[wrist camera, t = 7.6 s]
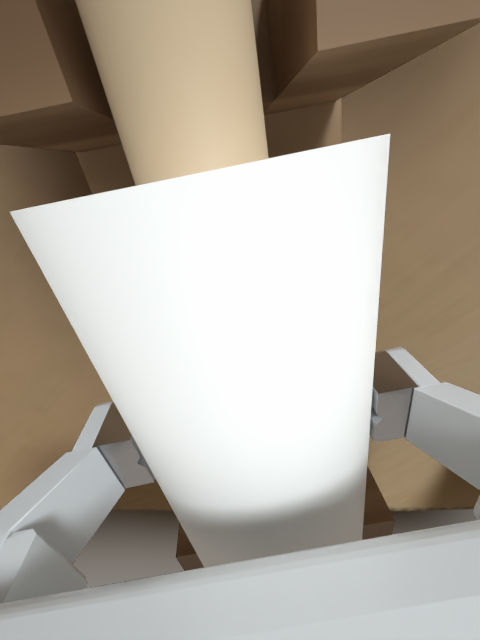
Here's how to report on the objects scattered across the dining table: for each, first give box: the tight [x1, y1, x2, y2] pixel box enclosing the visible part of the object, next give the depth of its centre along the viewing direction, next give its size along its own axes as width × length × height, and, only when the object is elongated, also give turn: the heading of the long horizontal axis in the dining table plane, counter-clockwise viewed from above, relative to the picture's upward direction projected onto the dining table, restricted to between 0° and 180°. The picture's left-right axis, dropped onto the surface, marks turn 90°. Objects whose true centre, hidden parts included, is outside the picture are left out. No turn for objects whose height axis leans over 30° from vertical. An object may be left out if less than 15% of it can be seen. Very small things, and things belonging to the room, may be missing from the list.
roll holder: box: [0, 0, 480, 571], centre depth 10 cm, size 22×9×7 cm, turn 10°
